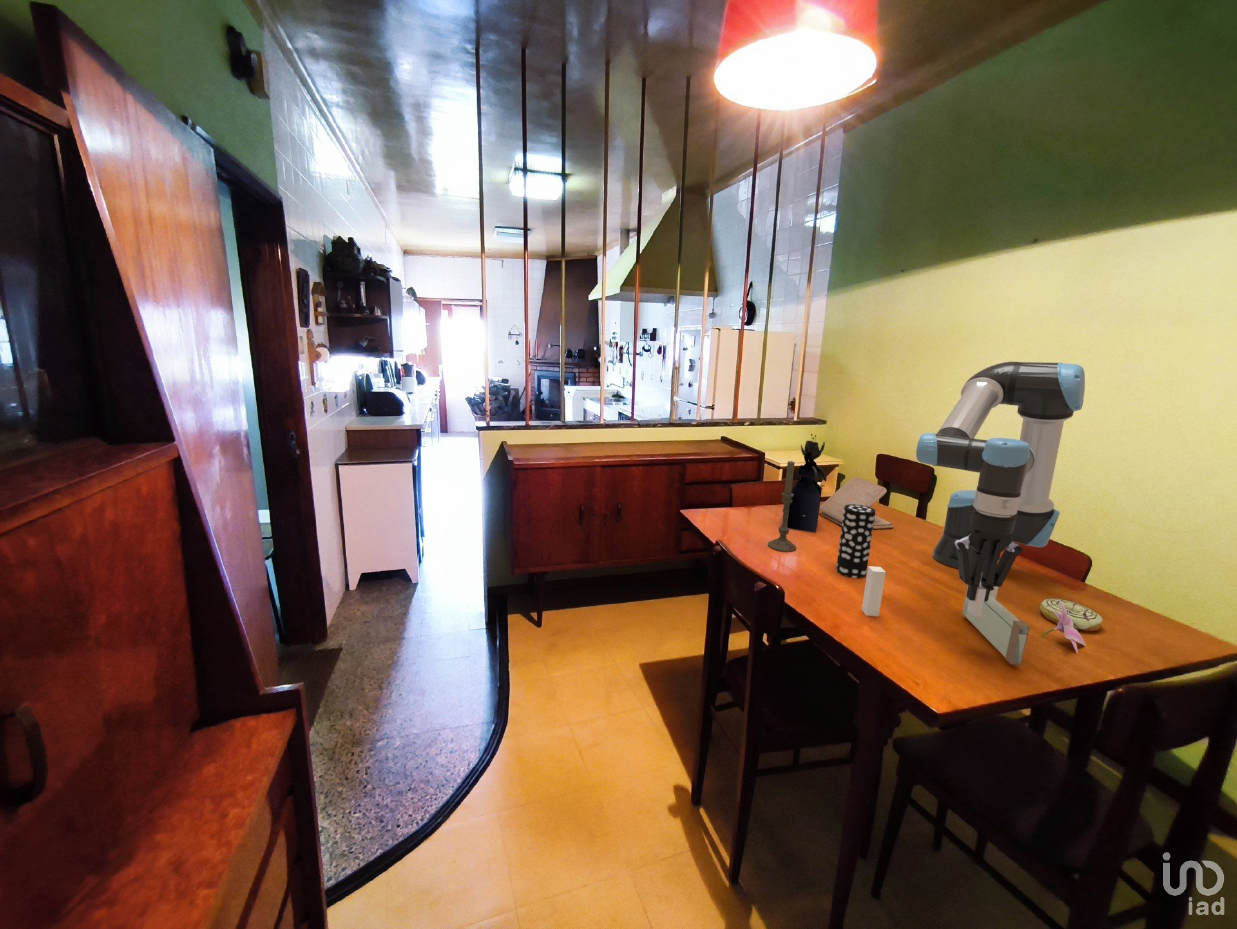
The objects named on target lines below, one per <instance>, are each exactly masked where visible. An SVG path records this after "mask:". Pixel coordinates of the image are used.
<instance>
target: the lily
mask: <svg viewBox="0 0 1237 929" xmlns="http://www.w3.org/2000/svg"><path fill="white" fill-rule="evenodd" d="M1058 599H1059V601H1060V605H1061V618H1060V614H1059V613H1058V612H1057V611H1055V610H1053V612H1054V613H1055V615H1056V616H1057V618H1058V619H1059V623H1058V624H1056V625H1057V626H1055V627H1054V628H1051V629H1049V630H1048V631H1046V632H1045V633H1043V634H1041V638H1043V637H1044V636H1045V635H1047V634H1049V633H1051V632H1053V631H1059V632H1060V633H1062V634H1064V637H1065V638H1066V639H1067V640H1070V642H1071V643H1072V646H1073V648H1074V651H1075V653H1076V654H1078V645H1077V643H1080V644H1081V645H1083V646H1084V647H1086V646H1087V645H1086V642H1085V640H1084V639H1083V637H1082V635H1081V634H1080V633H1079V630H1076V629H1075V628H1076V626H1075V628H1073V622H1072V619H1071V618H1070V617H1068V614H1067V611H1066V609H1065V607H1064V605H1063V603H1062V602H1061V600H1062V599H1061V600H1060V598H1058ZM1076 642H1077V643H1076Z"/></svg>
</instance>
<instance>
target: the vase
mask: <svg viewBox="0 0 1237 929" xmlns="http://www.w3.org/2000/svg"><path fill="white" fill-rule="evenodd" d="M810 436H812V440H805V444H804V447H803V445H802V444H800V450H801V453H802V456H803V458H804V465H802V464H801V465H800V466H799V468H798V473H797V477H798V476H800V479H799V480H798V481H796V482H795V483H793V484H792V491H791V493H792V494H794V496H793V497H792V503H790V504H789V513H788V518H787V519H788V520H787V528H789V530H794V531H800V532H807V533H814V534H816V532H817V528H818V524H819V514H820V506H821V501H822V499H821V498H822V491H823V488H822V486H821V485H820V484H819V478H820V477H819V473H821V476H822V479H823V481H824V482H827V474H826V471H825V470H824V469H823V468H822V467H821V466H819V465H818V464H817V462H816V461H815V460H816V459H818V458H819V457H820V456H822V454H823V452H824V450H825V447H826V444H825V443H826V442H825V441H823V443H822V445H821V447H820V446H819V442H818V441H817V440H815V438H817V435H814V436H813V434H812V433H810ZM813 440H814V441H813Z"/></svg>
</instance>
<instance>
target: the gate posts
mask: <svg viewBox="0 0 1237 929" xmlns="http://www.w3.org/2000/svg"><path fill="white" fill-rule="evenodd" d="M981 576H982V575H981ZM885 579H886V571H885V570H884V569H883V568H882V567H881V566H871V565H870V566H869V565H868V566H867V573H866V579H865V583H864V584H865V585H864V586H865V587H864V592H863V598H862V599H863V600H862V606H861V611H862V612H863V613H864V615H865V616H867V617H879V616H880V610H881V605H882V598H883V592H884V585H885ZM980 585H981V580H980ZM993 588H994V590H992V591H990V595H991V596H992V597H993V598H994V599H995V600H996V599H997V595H998V591H999V587H997V586H996V587H993Z"/></svg>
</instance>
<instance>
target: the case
mask: <svg viewBox="0 0 1237 929" xmlns="http://www.w3.org/2000/svg"><path fill="white" fill-rule="evenodd" d="M887 491H888V490H887V488H886V487H884V486H882V485H880V484H877V483H874V482H872V481H870V480H866V479H864V478H860V477H858V476H854V477H852V478H850V479H849V480H848V481H846V482H845V483H844V484H843V485H842V486H841V487H840V488H839V489H837V490H836V491H835V492H834V493H833V494H832V495H831V496H830V497H828V499H827V500H825V501H824V502H823V503H822V504H820V508H819V512H820V515H821V516H822V517H824V518H826V519H828V520H830V521H832V522H833V523H834V524H837V525H839V526H840V527H842V521H843V514H844V506H845V505H849V504H856V505H863V506H868V507H871V508H872V506H873V505H874V504H876V502H878V501H880V499H881V498H883V497H884V496H885V495H886V494H887ZM894 527H895V526H894V524H892V523H891V522H890V521H888V520H885V519H883V518H882V517H880V516H877V515H875V519H874V526H873V530H875V529H876V530H877V529H878V530H879V529H892V528H894Z"/></svg>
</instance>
